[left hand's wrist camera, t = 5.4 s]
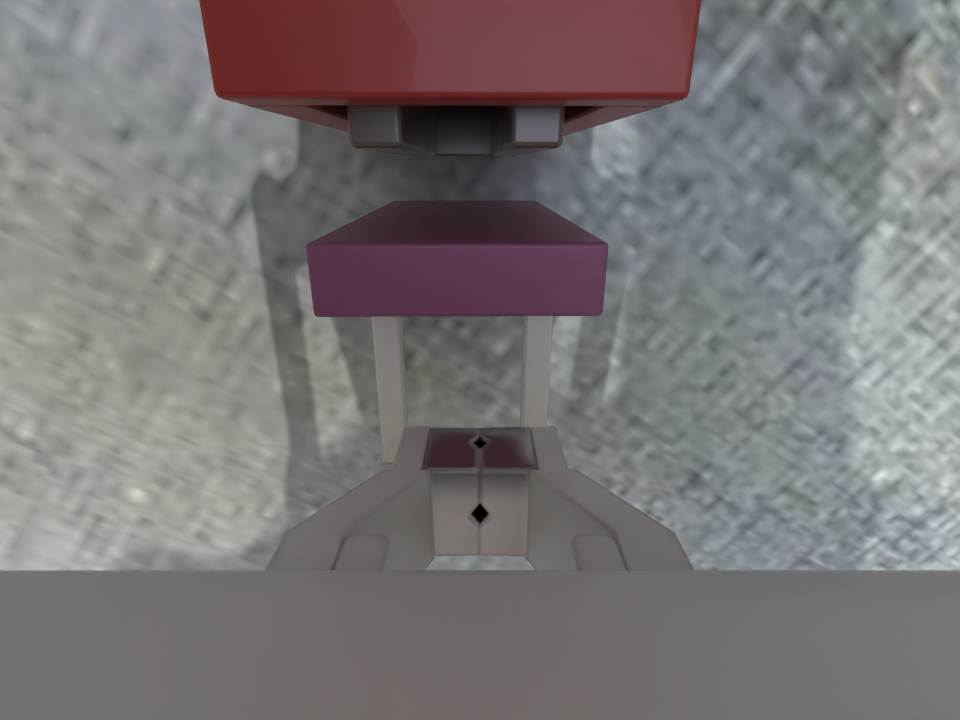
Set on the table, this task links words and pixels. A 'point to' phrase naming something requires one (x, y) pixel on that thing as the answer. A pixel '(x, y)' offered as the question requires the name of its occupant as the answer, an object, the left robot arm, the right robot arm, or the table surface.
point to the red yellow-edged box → (452, 55)
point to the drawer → (457, 251)
